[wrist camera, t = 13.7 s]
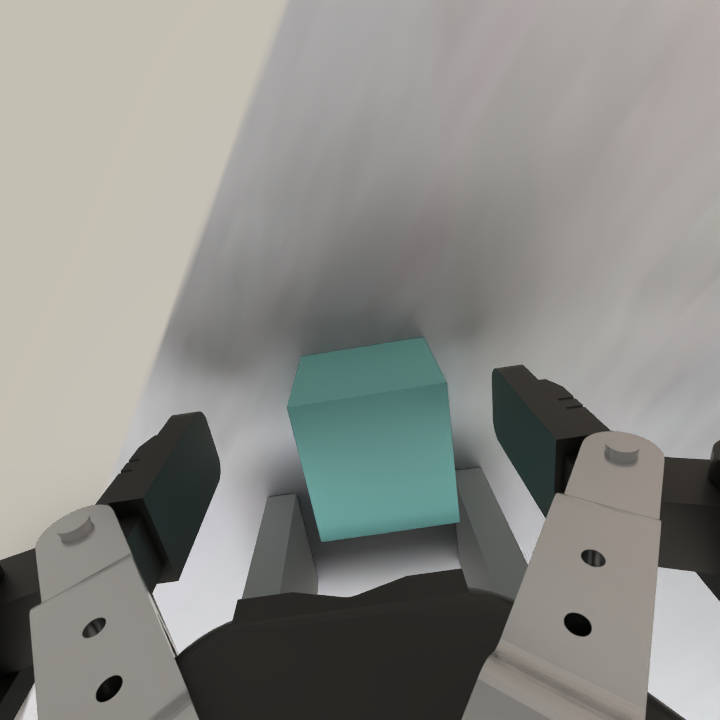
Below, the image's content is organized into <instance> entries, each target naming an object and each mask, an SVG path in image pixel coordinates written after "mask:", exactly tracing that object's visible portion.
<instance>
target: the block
mask: <svg viewBox="0 0 720 720" xmlns="http://www.w3.org/2000/svg"><path fill="white" fill-rule="evenodd" d="M287 410H288V413H289V417H290V421H291V425H292V429H293V433H294V437H295V441H296V445H297V449H298V453H299V457H300V460H301V464H302V468H303V472H304V476H305V480H306V484H307V488H308V492H309V496H310V500H311V504H312V508H313V511H314V515H315V519H316V523H317V527H318V531H319V535H320V539H321V542H327V541H334V540H341V539H348V538H355V537H362V536H368V535H375V534H382V533H389V532H396V531H403V530H410V529H417V528H424V527H431V526H437V525H444V524H451V523H458V522H460V518H459V508H458V497H457V486H456V475H455V465H454V454H453V443H452V432H451V422H450V411H449V400H448V389H447V382H446V380H445V378H444V376H443V374H442V372H441V370H440V368H439V366H438V364H437V362H436V360H435V358H434V356H433V354H432V352H431V350H430V348H429V346H428V344H427V342H426V340H425V338H424V337H419V338H413V339H407V340H401V341H395V342H388V343H382V344H376V345H370V346H364V347H357V348H351V349H345V350H339V351H333V352H326V353H320V354H314V355H308V356H302V357H301V358H300V362H299V366H298V369H297V373H296V376H295V380H294V384H293V387H292V391H291V394H290V398H289V402H288V405H287Z"/></svg>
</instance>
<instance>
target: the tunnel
mask: <svg viewBox="0 0 720 720" xmlns="http://www.w3.org/2000/svg"><path fill="white" fill-rule="evenodd" d="M455 475H456V486H457V497H458V508H459V518H460V522H458V523H456V529H457V542H458V554H459V562H460V566H461V568H462V570H463V573H464V576H465V580H466V583H467V586H468V587H471V588H478V589H483V590H488V591H492V592H495V593H498V594H501V595H504V596H507V597H509V598H512V599H514V600H515V599H516V596H517V594H518V591H519V589H520V586H521V583H522V581H523V578H524V575H525V573H526V570H527V567H528V564H527V562H526V560H525V558H524V556H523V554H522V552H521V550H520V548H519V546H518V544H517V541H516V539H515V537H514V535H513V533H512V531H511V529H510V527H509V525H508V523H507V521H506V519H505V517H504V514H503V512H502V510H501V508H500V506H499V504H498V502H497V500H496V498H495V496H494V494H493V492H492V489H491V487H490V485H489V483H488V481H487V479H486V477H485V475H484V473H483V471H482V469H481V467H478V468H471V469H464V470H457V471H455ZM317 591H318V577H317V573H316V569H315V566H314V562H313V558H312V554H311V550H310V546H309V542H308V538H307V534H306V530H305V526H304V522H303V518H302V515H301V511H300V507H299V503H298V499H297V495H296V493H294V494H287V495H280V496H273V497H268V498H267V502H266V506H265V510H264V514H263V518H262V522H261V526H260V530H259V533H258V537H257V541H256V545H255V549H254V553H253V557H252V561H251V565H250V569H249V573H248V577H247V581H246V585H245V589H244V593H243V597H242V599H246V598H254V597H261V596H268V595H275V594H282V593H289V592H297V593H306V594H316V595H317Z"/></svg>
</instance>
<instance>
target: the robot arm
mask: <svg viewBox="0 0 720 720" xmlns="http://www.w3.org/2000/svg"><path fill="white" fill-rule="evenodd" d="M492 400H493V424H494V429H495V433H496V436H497V439H498V441H499V443H500V444H501V446H502V448H503V449H504V451H505V453H506V454H507V456H508V458H509V459H510V461H511V462H512V464H513V466H514V467H515V469H516V471H517V472H518V474H519V476H520V477H521V479H522V480H523V482H524V484H525V485H526V487H527V489H528V490H529V492H530V494H531V495H532V497H533V498H534V500H535V502H536V503H537V505H538V507H539V508H540V510H541V512H542V513H543V515H544V516H545V518H546V520H545V523H544V525H543V528H542V530H541V533H540V536H539V538H538V541H537V544H536V546H535V549H534V552H533V554H532V557H531V559H530V562H529V565H528V567H527V570H526V573H525V575H524V578H523V581H522V583H521V586H520V589H519V591H518V594H517V596H516V599H515V600H514V599H512V598H509V597H507V596H504V595H501V594H498V593H495V592H492V591H488V590H483V589H478V588H471V587H468V586H467V583H466V580H465V576H464V573H463V570H462V568H461V569H454V570H447V571H440V572H433V573H425V574H418V575H411V576H406V577H403V578H400V579H398V580H395V581H393V582H390V583H387V584H385V585H382V586H380V587H377V588H374V589H372V590H369V591H366V592H364V593H361V594H359V595H356V596H353V597H336V596H326V595H316V594H306V593H297V592H289V593H282V594H275V595H268V596H261V597H254V598H246V599H239V600H238V601H237V605H236V609H235V613H234V617H233V621H230V622H228V623H225V624H223V625H221V626H219V627H217V628H215V629H213V630H212V631H210V632H208V633H207V634H205V635H204V636H202V637H200V638H199V639H197V640H196V641H195V642H193V643H192V644H191V645H189V646H188V647H187V648H186V649H184V650H183V651H182V652H181V653H180V654H178V651H177V649H176V647H175V644H174V642H173V640H172V638H171V635H170V633H169V631H168V628H167V626H166V624H165V621H164V619H163V617H162V614H161V612H160V610H159V608H158V605H157V603H156V601H155V599H154V596H153V594H152V593H153V591H154V588H155V586H156V584H160V583H167V582H174V581H178V580H179V578H180V575H181V573H182V571H183V568H184V566H185V563H186V561H187V558H188V556H189V553H190V551H191V549H192V546H193V544H194V541H195V539H196V536H197V534H198V531H199V529H200V527H201V524H202V522H203V519H204V517H205V514H206V512H207V509H208V507H209V505H210V502H211V500H212V497H213V495H214V492H215V490H216V487H217V485H218V483H219V479H220V472H221V470H220V461H219V457H218V454H217V451H216V447H215V444H214V441H213V438H212V435H211V432H210V429H209V426H208V423H207V420H206V417H205V416H204V414H203V413H202V412H200V411H199V412H192V413H186V414H179V415H173V416H171V417H170V418H169V420H168V421H167V423H166V424H165V425H164V427H163V428H162V429H161V431H160V432H159V434H158V435H156V436H153V437H152V438H151V439H150V440H148V441H147V442H146V443H144V444H143V445H142V446H140V447H139V448H138V449H137V451H136V452H135V453H134V454H133V456H132V457H131V458H130V460H129V463H127V464H126V465H125V466H124V468H123V469H122V470H121V474H118V475H117V477H116V478H115V479H114V481H113V482H112V483H111V485H110V486H109V487H108V488H107V490H106V491H105V492H104V494H103V495H102V496H101V498H100V499H99V500H98V502H97V503H96V504H95V505H92V506H88V507H84V508H81V509H78V510H76V511H74V512H72V513H70V514H68V515H66V516H64V517H62V518H61V519H59V520H58V521H56V522H55V523H53V524H52V525H51V526H50V527H49V528H47V530H45V532H43V534H42V535H41V536H40V538H39V539H38V541H37V543H36V547H35V548H34V549H31V550H29V551H26V552H23V553H20V554H17V555H14V556H11V557H8V558H6V559H3V560H0V720H14V718H15V716H16V714H17V713H18V711H19V709H20V707H21V706H22V704H23V702H24V700H25V698H26V697H27V695H28V693H29V691H30V690H31V688H32V686H33V684H34V682H35V688H36V700H37V712H38V720H686V719H684V718H683V717H682V716H680V715H679V714H677V713H676V712H675V711H673V710H672V709H671V708H669V707H668V706H666V705H665V704H664V703H662V702H661V701H659V700H658V699H657V698H655V697H654V696H653V695H651V694H650V693H648V692H647V691H648V678H649V666H650V654H651V642H652V630H653V618H654V606H655V594H656V582H657V570H658V567H663V568H671V569H679V570H686V571H694V572H696V573H697V574H698V576H699V577H700V578H701V579H702V580H703V582H704V583H705V584H706V585H707V586H708V588H709V589H710V590H711V591H712V592H713V594H714V595H715V596H716V597H717V599H718V600H719V601H720V440H719V441H718V442H716V443H715V444H714V446H713V449H712V454H711V459H710V460H704V459H687V458H671V457H664V454H663V452H662V451H661V450H660V448H659V447H657V446H656V445H655V444H654V443H652V442H650V441H649V440H647V439H645V438H642V437H640V436H637V435H633V434H629V433H624V432H615V431H610V430H609V429H608V428H607V427H606V426H605V425H604V424H603V423H602V422H601V421H599V420H598V419H597V418H596V417H595V416H594V415H593V414H592V413H591V412H590V411H589V410H587V409H586V408H585V407H583V406H582V404H581V403H580V402H579V401H578V400H577V399H574V398H573V396H572V395H571V394H570V393H569V392H568V391H567V390H566V389H565V388H564V387H562V386H560V385H558V384H555V383H553V382H551V381H549V380H546V379H543V380H538V379H537V378H536V377H535V376H534V375H533V374H532V373H531V372H530V371H529V370H528V369H527V368H526V367H525V366H524V365H516V366H509V367H502V368H495V369H494V370H493V372H492Z"/></svg>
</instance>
